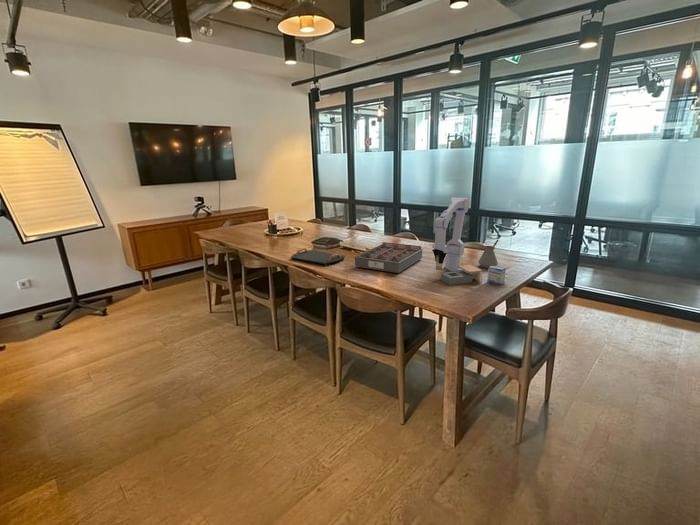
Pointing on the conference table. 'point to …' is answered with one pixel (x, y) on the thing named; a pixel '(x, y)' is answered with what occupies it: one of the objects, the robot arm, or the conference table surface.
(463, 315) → the conference table surface
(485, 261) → the coffee pot
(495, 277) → the medicine box
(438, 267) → the peg
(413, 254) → the organizer tray
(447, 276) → the socket block
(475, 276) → the peach slab
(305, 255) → the serving board
